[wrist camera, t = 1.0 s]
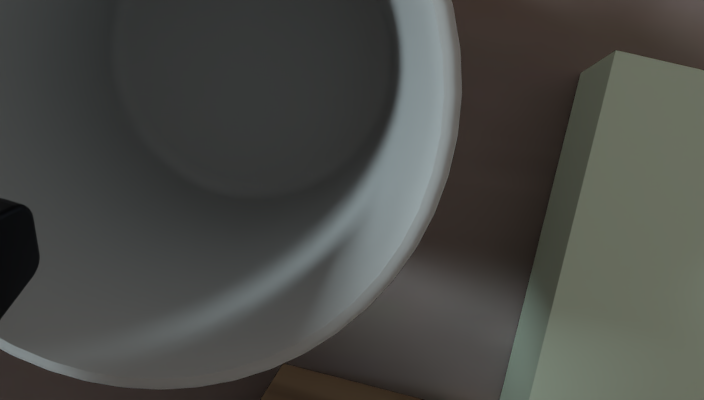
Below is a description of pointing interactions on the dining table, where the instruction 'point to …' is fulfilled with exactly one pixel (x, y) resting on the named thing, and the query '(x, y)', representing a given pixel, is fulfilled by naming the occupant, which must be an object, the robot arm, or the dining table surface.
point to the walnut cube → (322, 387)
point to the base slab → (620, 244)
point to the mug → (217, 175)
